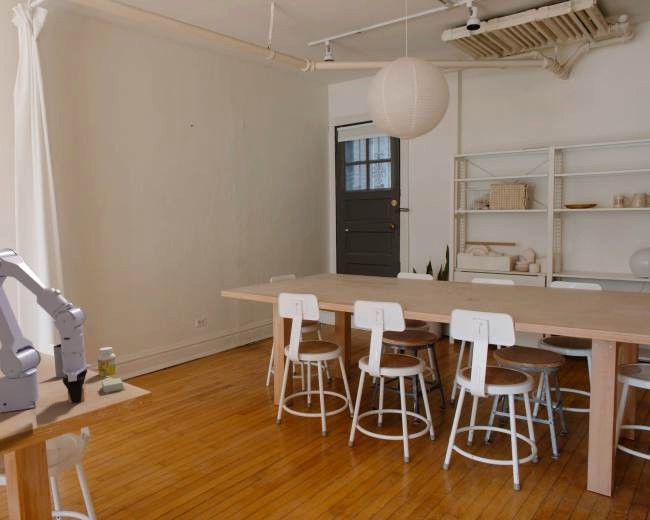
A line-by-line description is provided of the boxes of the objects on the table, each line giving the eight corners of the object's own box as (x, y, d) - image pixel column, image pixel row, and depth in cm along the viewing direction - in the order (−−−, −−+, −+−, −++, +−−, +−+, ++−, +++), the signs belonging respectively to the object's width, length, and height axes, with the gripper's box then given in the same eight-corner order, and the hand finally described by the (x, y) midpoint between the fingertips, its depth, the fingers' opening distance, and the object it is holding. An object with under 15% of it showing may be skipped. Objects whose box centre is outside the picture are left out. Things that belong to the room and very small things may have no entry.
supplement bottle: (120, 376, 173) (118, 347, 172) (106, 381, 168) (104, 351, 168) (109, 374, 176) (107, 345, 175) (95, 378, 171) (93, 349, 170)
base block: (103, 400, 152) (103, 393, 152) (100, 394, 157) (100, 387, 157) (125, 396, 155) (125, 389, 155) (122, 390, 160) (121, 383, 160)
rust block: (69, 407, 146) (67, 390, 145) (70, 403, 149) (69, 385, 149) (85, 405, 147) (83, 387, 147) (86, 400, 151) (84, 383, 150)
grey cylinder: (67, 373, 179) (64, 343, 178) (73, 375, 176) (71, 344, 175) (53, 376, 176) (50, 346, 175) (60, 378, 173) (57, 347, 172)
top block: (104, 392, 152) (104, 385, 152) (102, 387, 157) (101, 381, 157) (123, 389, 155) (122, 382, 155) (120, 384, 159) (119, 378, 159)
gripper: (87, 355, 141) (91, 405, 143) (90, 343, 155) (94, 389, 156) (57, 359, 139) (62, 409, 140) (64, 346, 153) (68, 392, 154)
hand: (77, 399), depth 148 cm, fingers closed on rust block, 4 cm apart
